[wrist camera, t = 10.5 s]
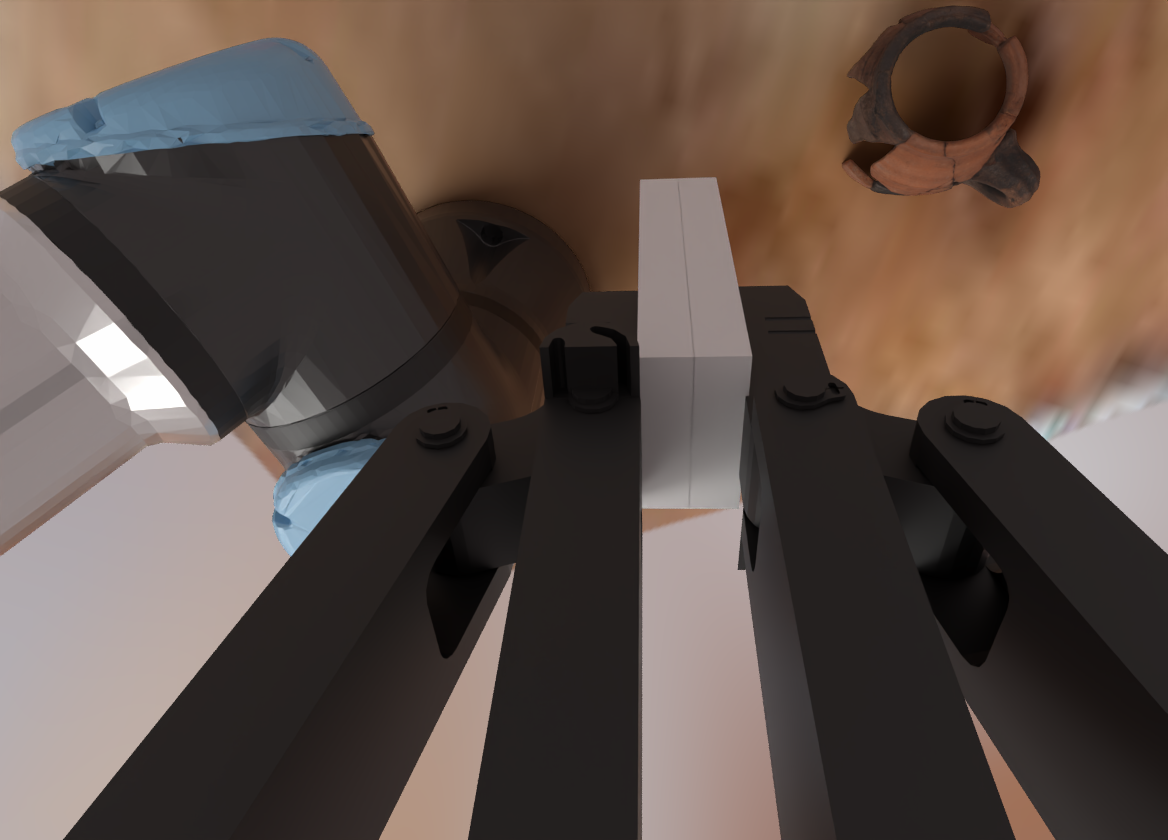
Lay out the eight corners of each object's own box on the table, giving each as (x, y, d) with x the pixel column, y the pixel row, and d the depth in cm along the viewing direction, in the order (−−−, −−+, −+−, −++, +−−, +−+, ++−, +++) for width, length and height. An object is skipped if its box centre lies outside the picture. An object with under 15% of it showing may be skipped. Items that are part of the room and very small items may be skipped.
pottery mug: (789, 155, 47) (822, 118, 38) (880, 12, 45) (933, -57, 37) (958, 262, 47) (1027, 247, 39) (1053, 122, 45) (1145, 76, 37)
